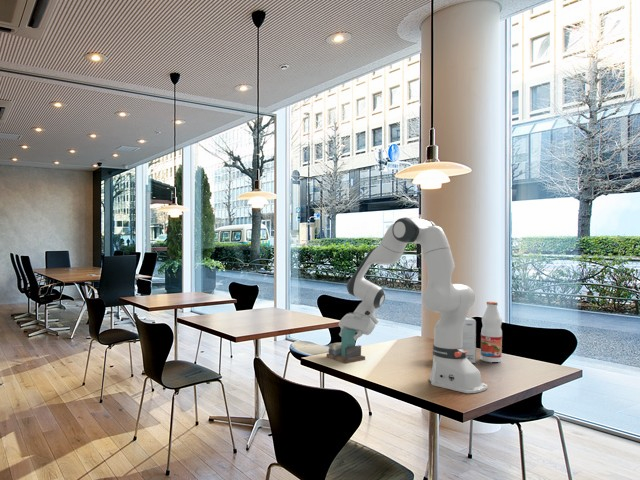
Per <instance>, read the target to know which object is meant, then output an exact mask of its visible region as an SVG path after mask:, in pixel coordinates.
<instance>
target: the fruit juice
mask: <svg viewBox="0 0 640 480" xmlns="http://www.w3.org/2000/svg"><path fill="white" fill-rule="evenodd" d="M498 305H499V304H498V301H491V300H490V301H486V306H487V307H486V309H485V312H484V314H483V315H482V317H481V323H482V327H481V332H480V360H481V361H482V362H486V363H492V362H498V363H501V362H502V360H503V359H502V356H503V354H502V353H503V351H502V350H503V347H502V346H503V330H502V324H503V319H502V317H501V316H500V313H499V310H498Z"/></svg>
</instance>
